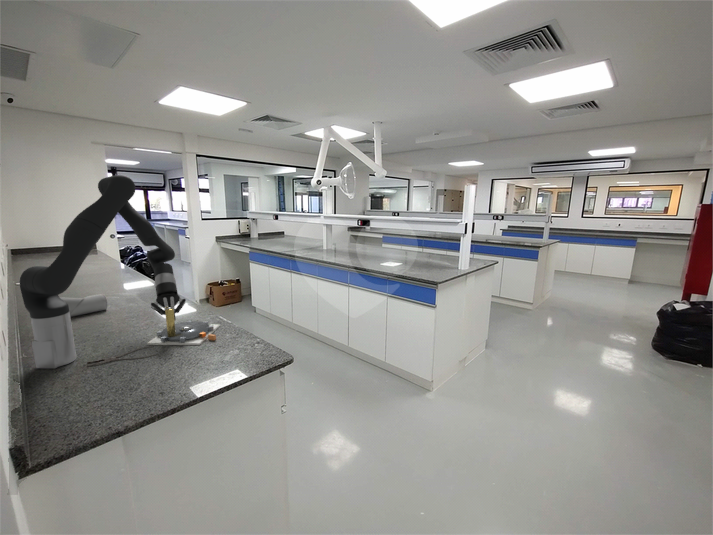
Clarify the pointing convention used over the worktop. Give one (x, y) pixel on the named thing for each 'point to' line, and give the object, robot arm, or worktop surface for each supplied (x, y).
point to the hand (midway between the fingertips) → (171, 322)
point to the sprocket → (183, 329)
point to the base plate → (188, 342)
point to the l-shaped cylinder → (86, 304)
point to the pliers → (117, 358)
